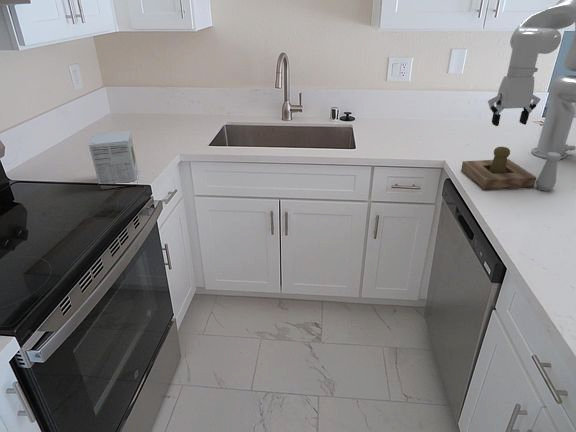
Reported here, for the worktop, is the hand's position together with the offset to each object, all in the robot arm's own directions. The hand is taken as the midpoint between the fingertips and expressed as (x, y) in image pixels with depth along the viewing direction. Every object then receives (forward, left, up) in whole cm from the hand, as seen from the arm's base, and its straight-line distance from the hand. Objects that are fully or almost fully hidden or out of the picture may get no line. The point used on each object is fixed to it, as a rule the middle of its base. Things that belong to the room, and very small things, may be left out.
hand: (508, 124), depth 143 cm
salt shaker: (-12, +10, -21) cm, 26 cm away
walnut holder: (0, 0, -20) cm, 20 cm away
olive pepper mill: (0, 0, -20) cm, 20 cm away
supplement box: (+139, -14, -21) cm, 141 cm away
